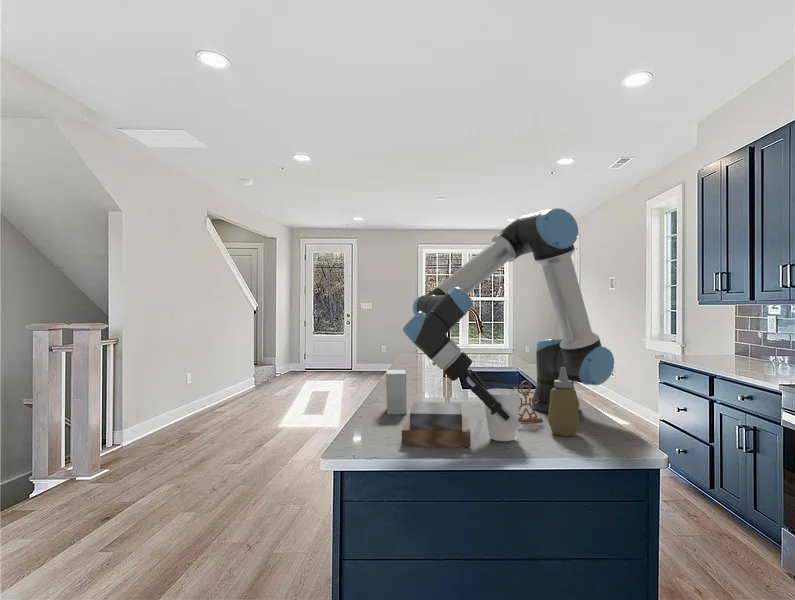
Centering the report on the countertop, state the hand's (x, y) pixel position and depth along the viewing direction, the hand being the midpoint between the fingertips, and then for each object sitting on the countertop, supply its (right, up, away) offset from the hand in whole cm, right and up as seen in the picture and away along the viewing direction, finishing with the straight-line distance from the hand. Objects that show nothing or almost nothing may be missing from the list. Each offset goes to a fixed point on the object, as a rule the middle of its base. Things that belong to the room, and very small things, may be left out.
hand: (514, 422), depth 126 cm
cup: (-3, -4, 0) cm, 5 cm away
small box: (-31, -5, +33) cm, 45 cm away
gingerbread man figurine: (+8, -5, +19) cm, 21 cm away
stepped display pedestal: (-20, -5, +2) cm, 21 cm away
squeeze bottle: (+14, -5, +5) cm, 16 cm away
